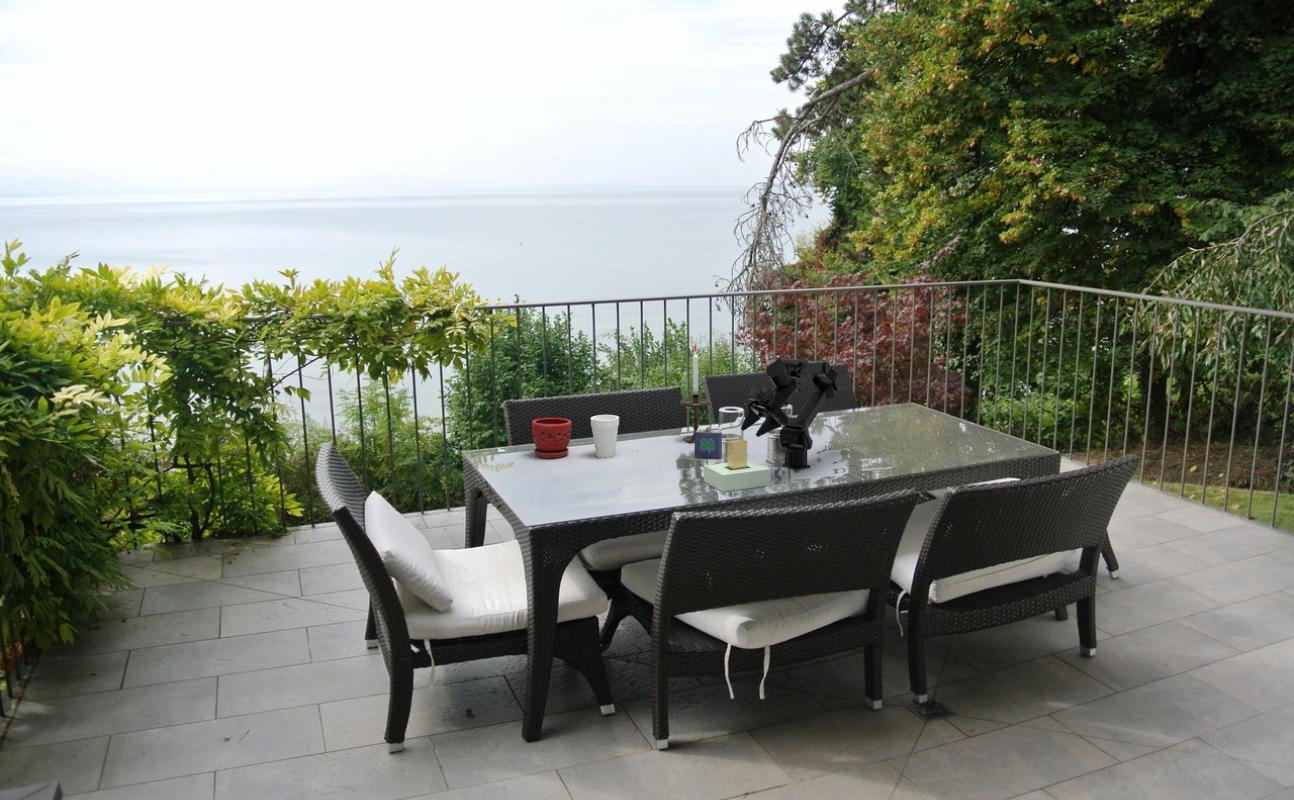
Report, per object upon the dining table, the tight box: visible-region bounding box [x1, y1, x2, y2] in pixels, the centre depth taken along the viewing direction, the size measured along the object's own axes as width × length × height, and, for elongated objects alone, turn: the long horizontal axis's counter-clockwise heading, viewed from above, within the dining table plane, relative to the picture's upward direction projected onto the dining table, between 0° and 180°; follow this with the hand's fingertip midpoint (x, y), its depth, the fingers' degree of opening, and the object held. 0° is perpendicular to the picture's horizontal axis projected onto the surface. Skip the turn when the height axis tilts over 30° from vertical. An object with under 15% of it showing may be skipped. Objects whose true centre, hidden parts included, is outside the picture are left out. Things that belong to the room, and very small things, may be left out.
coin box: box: [703, 459, 772, 493], centre depth 283 cm, size 16×12×5 cm
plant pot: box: [531, 417, 572, 459], centre depth 319 cm, size 13×13×12 cm
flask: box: [694, 425, 723, 460], centre depth 313 cm, size 9×3×11 cm, turn 78°
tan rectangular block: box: [726, 438, 748, 470], centre depth 282 cm, size 5×3×13 cm, turn 115°
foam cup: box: [590, 414, 620, 458], centre depth 318 cm, size 10×9×13 cm
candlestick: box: [679, 343, 712, 444], centre depth 335 cm, size 11×11×35 cm
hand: (749, 432), depth 289 cm, fingers open, 9 cm apart
